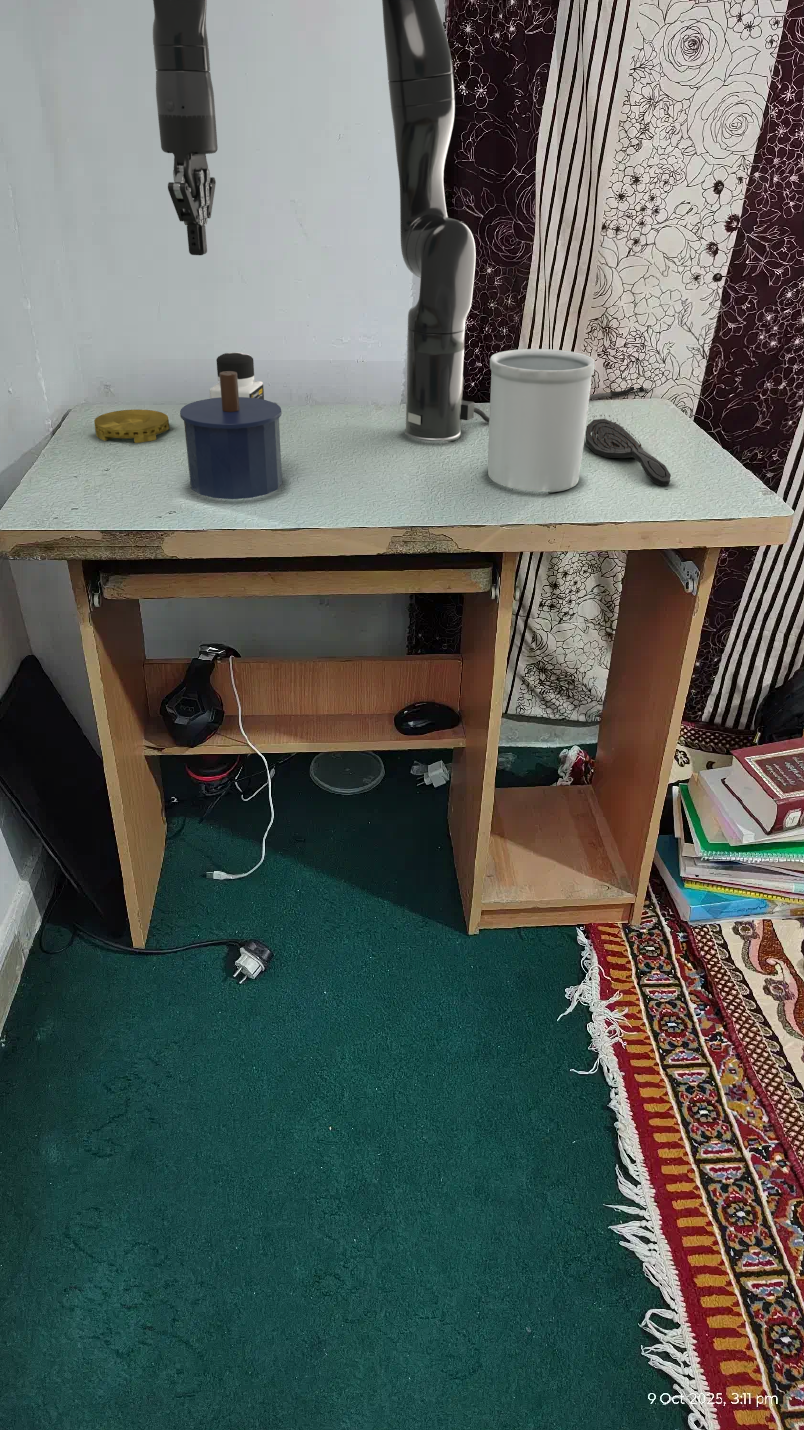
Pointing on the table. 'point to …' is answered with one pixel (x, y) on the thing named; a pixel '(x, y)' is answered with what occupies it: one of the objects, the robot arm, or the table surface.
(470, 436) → the table surface
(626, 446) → the hairbrush
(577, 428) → the utensil holder
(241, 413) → the lid
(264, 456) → the pot
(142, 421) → the golden brown disc
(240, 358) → the medicine bottle
